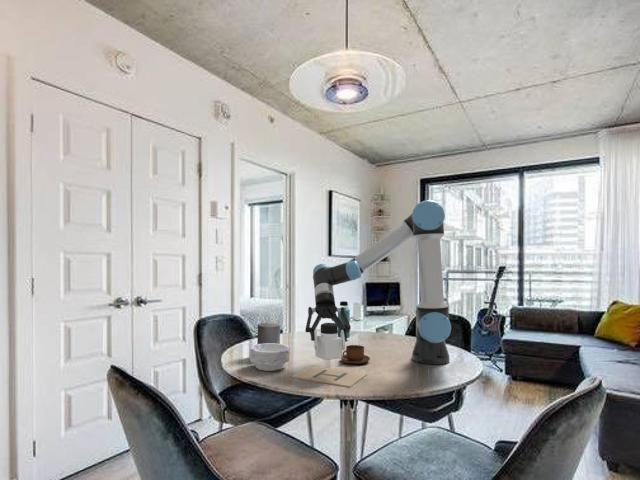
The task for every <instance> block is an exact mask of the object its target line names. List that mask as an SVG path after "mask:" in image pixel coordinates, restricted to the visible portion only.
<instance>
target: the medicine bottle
mask: <svg viewBox="0 0 640 480" xmlns="http://www.w3.org/2000/svg"><path fill="white" fill-rule="evenodd" d="M337 331H338V325H337V324H335V322H323V323H321V325H320V335H317V343H318V347H317V350H315V349H314V350H315V353H314V354H315V357H317V358H320V360H323V361H330V360H331V361H332V360H337V359H338V360H341V358H342V355H343V350H342V338H340V337H338V335H337V334H338V333H337Z"/></svg>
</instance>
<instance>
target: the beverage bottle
mask: <svg viewBox="0 0 640 480" xmlns="http://www.w3.org/2000/svg"><path fill="white" fill-rule="evenodd" d="M348 305H349V303H348V301H345V300H342V301H340V302H339V306H341V307H344V313H345V315H346V317H347V319H348V322H349V324H350V321H351V320H350V318H351V317H350V315H351V313H350V312H351V311H350V309H349V308H348V307H347V306H348ZM337 317H338V318H339V319H340V321H341V322H342V323H343V321H342V319H341V317H340V315H339V313H338V312H337ZM343 325H344V324H343ZM350 332H351V331H350ZM350 332H346V333H347V339H349V338H350V335H351V334H350ZM340 333H341V331H340V329H339V328H338V331H337V337H340V338H341V336H340Z"/></svg>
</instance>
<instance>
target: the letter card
mask: <svg viewBox="0 0 640 480" xmlns="http://www.w3.org/2000/svg"><path fill="white" fill-rule="evenodd" d="M366 376H368V373H364V372H357V371H351V370H345V369H338V368H330V367H323V366H318V365H317V366H316V365H312V366H311V367H310V366H309V367H308V368H306V369H304V370H303V371H301V372H298V373H297V374H294V375H293V376H291V378H293V379H296V378H297V379H296V380H304V381H309V382H315V383H322V384H328V385H334V386H340V387H346V388H352V387H353V386H354V385H356V384H357V383H359V381H361V380H363V379H364V378H365V377H366Z"/></svg>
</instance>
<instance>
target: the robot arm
mask: <svg viewBox="0 0 640 480" xmlns="http://www.w3.org/2000/svg"><path fill="white" fill-rule="evenodd" d="M445 217H446V214H445V210H444V208H443V206H442V205H441V204H440V203H439V202H437V201H435V200H431V199H428V200H427V199H426V200H423V201H421V202H418V203H417V204H416V205H415V206H414V207H413V210H412V213H411V214H410V215H409V216H408V217H406V218H405V219H404V220H402V224H400V225H399V226H398V227H396V228H395V229H394V230H392V231H391V232H389V233H388V234H387V235H385V236H384V237H382V238H381V239H379V240H378V241H377V242H375V243H373V244H372V245H371V246H369V247H367V249H365V250H363V251H362V252H361V253H358V255H356V256H355V257H353V258H352V259H350V260H349V261H347V262H344V263H340V264H337V265H335V266H329V265H328V264H325V263H319V264H317V265H315V266H314V267H313V270H312V275H313V276H312V279H313V288H314V289H313V290H314V300H315V301H314V302H315V307H311V306H308V309H307V313H308V314H307V320H306V325H305V333H309V335H310V340H311V342H313V343H314V344H313V345H314V350H317V347H318V343H317V336H318V332H317V327H318V325H319V324H320V322H321V320H322V319H329V320H330V319H331V321H332V322H333V323H335V324H337V325H338V328H339V329H340V331H341V333H340V336H341V338H342V351H345V350H346V346H347V345H346V341H347V339H348V338H347V333H346V332H351V329H352V327H351V325H350V324H349V322H348V319H347V317H346V315H345V313H344V308H345V306H341V307H338V306H336V301H335V300H336V299H335V292H334V286H337V285H340V284H344V283H347V282H352V281H356V280H358V279H360V278H361V277H362V274H364V273H365V272H366V271H368V270H370V268H372V267H373V266H375V265H376V264H378V263H380V261H382V260H384V259H385V258H386V257H388V256H390V255H391V254H393V253H394V252H396V251H397V250H398V249H400V248H401V247H403V246H404V245H406V244H407V243H409V242H410V241H412V240H417V254H418V255H417V257H418V271H419V272H418V274H419V291H420V293H419V294H420V302H419V303H418V304H417V305H416V308H415V342H414V347H413V350H412V353H411V359H412V360H413V362H417V363H422V364H427V365H445V363H446V364H448V362H449V363H450V360H451V359H450V353H449V350H448V348H447V344H446V340H447V339H448V338H449V337H450V335H451V331H452V324H451V321H450V316H449V315H450V314H449V313H450V312H449V305H448V304H447V303H446V302H445V300H444V298H445V297H444V284H443V283H444V280H443V265H442V264H443V263H442V246H441V238H442V237H444V235H445V227H444V225H445V224H444V222H445ZM314 313H316V314H317V316H316V318H315V320H314V321H313V324H312V325H311V323H312V322H311V321H312V319H313V318H312V316H313V314H314ZM338 313H339V315H340V317H341V319H342V321H343V323H342V322H341V321H340V319H339V318H338ZM343 324H344V325H343Z"/></svg>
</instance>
